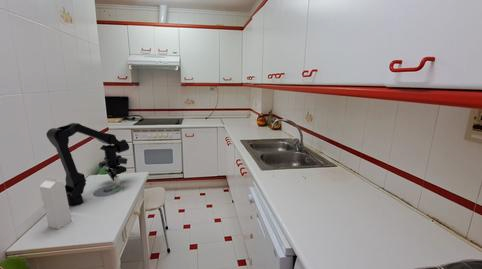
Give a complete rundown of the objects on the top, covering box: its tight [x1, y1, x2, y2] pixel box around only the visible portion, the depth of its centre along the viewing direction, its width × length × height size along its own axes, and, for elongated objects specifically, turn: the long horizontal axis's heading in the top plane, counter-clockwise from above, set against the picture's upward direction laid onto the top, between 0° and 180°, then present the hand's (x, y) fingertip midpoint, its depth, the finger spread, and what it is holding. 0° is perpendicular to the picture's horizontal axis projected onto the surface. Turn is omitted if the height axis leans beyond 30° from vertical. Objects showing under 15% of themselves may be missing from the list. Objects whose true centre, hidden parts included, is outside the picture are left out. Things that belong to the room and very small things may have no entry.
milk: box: [39, 176, 72, 230], centre depth 102 cm, size 6×6×22 cm
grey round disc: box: [92, 184, 123, 198], centre depth 134 cm, size 14×14×1 cm
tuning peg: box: [103, 175, 121, 192], centre depth 135 cm, size 9×4×6 cm, turn 150°
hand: (114, 180), depth 140 cm, fingers closed
